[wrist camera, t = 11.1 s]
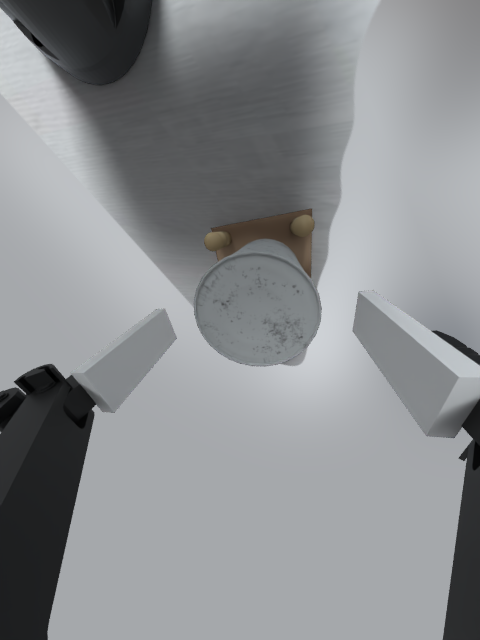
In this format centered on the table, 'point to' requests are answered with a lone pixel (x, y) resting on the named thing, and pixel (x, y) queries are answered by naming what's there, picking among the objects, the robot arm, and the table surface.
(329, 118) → the table surface
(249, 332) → the grey marbled cylinder
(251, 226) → the peg stand
